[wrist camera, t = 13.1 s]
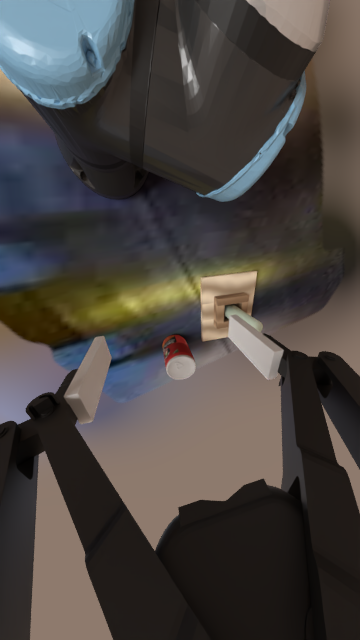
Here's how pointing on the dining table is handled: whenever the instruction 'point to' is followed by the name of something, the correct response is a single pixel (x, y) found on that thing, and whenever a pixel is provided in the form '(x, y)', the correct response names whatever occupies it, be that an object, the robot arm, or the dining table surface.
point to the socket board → (223, 289)
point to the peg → (242, 316)
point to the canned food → (178, 357)
